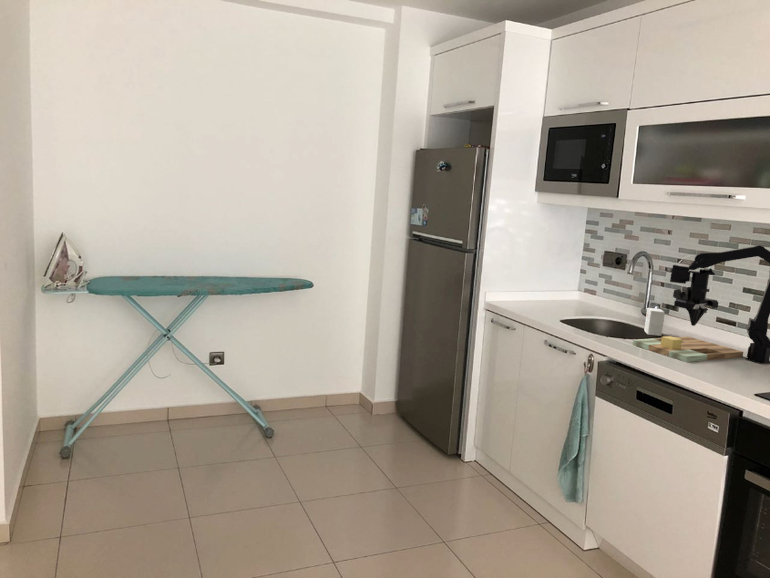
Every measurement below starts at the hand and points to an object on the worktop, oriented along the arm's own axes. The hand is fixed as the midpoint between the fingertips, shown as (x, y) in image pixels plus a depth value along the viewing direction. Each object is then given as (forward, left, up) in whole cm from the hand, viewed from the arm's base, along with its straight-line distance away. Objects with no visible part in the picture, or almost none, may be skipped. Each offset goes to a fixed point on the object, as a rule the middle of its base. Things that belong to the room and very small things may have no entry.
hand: (693, 325), depth 241 cm
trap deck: (0, +2, -10) cm, 10 cm away
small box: (+26, -10, -10) cm, 29 cm away
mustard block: (-1, +12, -8) cm, 14 cm away
